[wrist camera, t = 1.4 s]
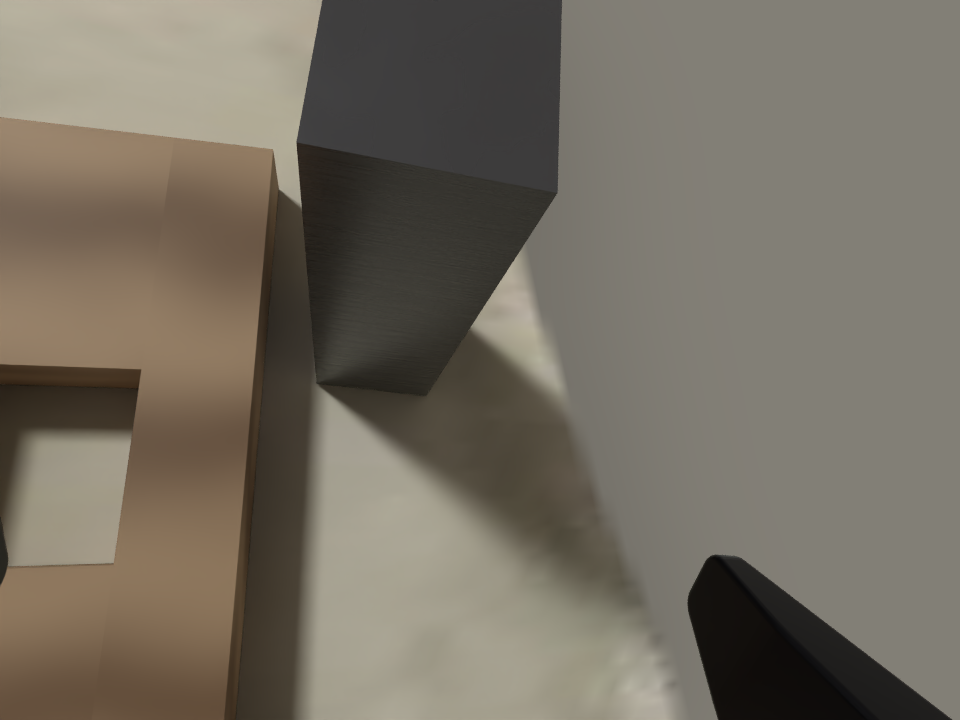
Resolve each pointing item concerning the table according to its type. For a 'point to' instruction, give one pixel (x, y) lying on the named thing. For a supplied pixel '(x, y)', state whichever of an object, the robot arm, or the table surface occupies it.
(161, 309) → the post foot
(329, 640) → the table surface
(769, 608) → the robot arm
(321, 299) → the dark grey square post
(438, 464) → the table surface
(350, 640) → the table surface
